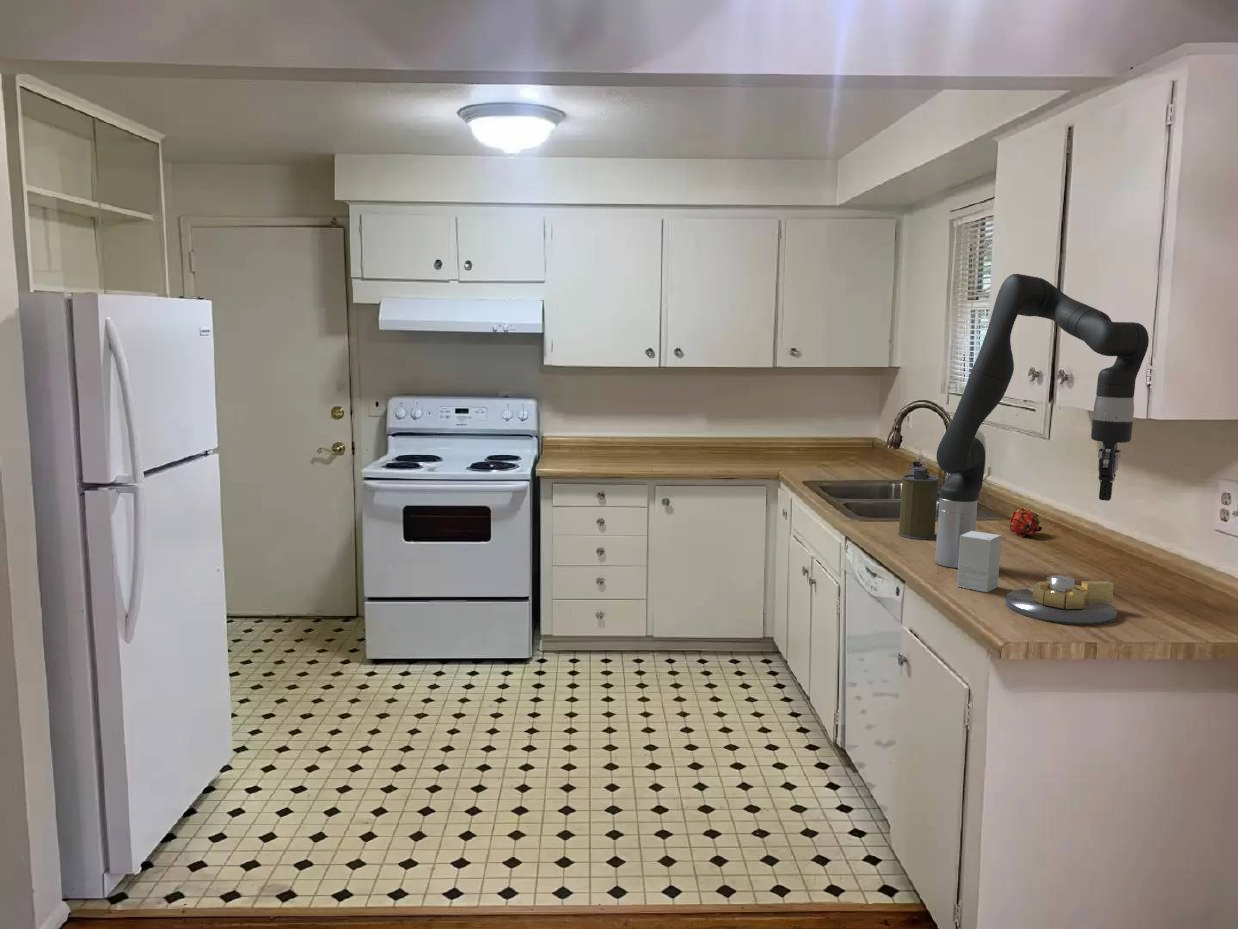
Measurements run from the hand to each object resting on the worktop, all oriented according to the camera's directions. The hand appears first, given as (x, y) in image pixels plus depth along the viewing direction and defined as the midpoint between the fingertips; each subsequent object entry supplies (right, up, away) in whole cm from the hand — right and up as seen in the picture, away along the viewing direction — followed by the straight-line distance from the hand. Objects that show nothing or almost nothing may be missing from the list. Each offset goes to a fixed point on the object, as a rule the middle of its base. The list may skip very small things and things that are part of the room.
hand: (1104, 499), depth 199 cm
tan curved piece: (-4, -22, +6) cm, 24 cm away
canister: (-16, -14, +77) cm, 80 cm away
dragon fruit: (+17, -14, +80) cm, 83 cm away
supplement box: (-18, -22, +23) cm, 37 cm away
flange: (-7, -24, +6) cm, 26 cm away
